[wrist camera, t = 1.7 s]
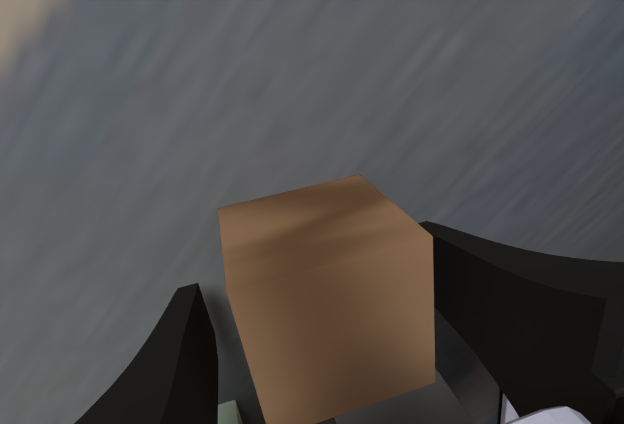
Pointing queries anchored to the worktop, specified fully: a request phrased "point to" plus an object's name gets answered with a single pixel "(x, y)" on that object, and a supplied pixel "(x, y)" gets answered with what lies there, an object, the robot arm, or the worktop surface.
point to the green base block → (229, 413)
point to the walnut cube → (329, 298)
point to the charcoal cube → (413, 408)
